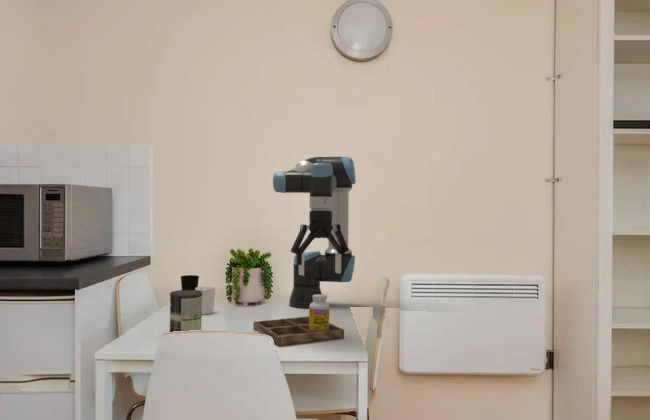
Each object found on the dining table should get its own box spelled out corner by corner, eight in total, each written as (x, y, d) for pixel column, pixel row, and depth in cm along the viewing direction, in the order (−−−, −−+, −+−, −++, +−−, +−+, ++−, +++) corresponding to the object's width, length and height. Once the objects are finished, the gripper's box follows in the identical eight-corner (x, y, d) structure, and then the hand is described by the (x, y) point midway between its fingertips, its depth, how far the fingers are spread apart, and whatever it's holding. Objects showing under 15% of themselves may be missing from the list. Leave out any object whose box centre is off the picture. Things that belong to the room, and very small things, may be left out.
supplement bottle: (311, 337, 159) (311, 297, 159) (307, 332, 165) (307, 294, 165) (331, 336, 160) (331, 296, 160) (326, 331, 167) (327, 293, 167)
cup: (190, 301, 220) (191, 274, 220) (202, 303, 216) (202, 276, 216) (176, 303, 214) (177, 276, 214) (188, 306, 210) (188, 278, 210)
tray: (313, 323, 181) (313, 315, 181) (343, 338, 160) (344, 329, 160) (253, 329, 170) (253, 321, 170) (278, 346, 150) (278, 337, 150)
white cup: (200, 315, 191) (200, 290, 191) (191, 312, 197) (191, 287, 197) (218, 313, 196) (218, 288, 196) (209, 310, 202) (209, 285, 202)
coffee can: (164, 338, 157) (165, 294, 157) (175, 330, 167) (176, 289, 167) (196, 339, 157) (197, 295, 157) (205, 331, 167) (206, 290, 167)
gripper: (290, 209, 154) (289, 277, 154) (359, 210, 165) (358, 273, 165) (281, 209, 160) (280, 274, 160) (347, 210, 172) (347, 270, 172)
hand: (320, 274), depth 163 cm, fingers open, 13 cm apart
